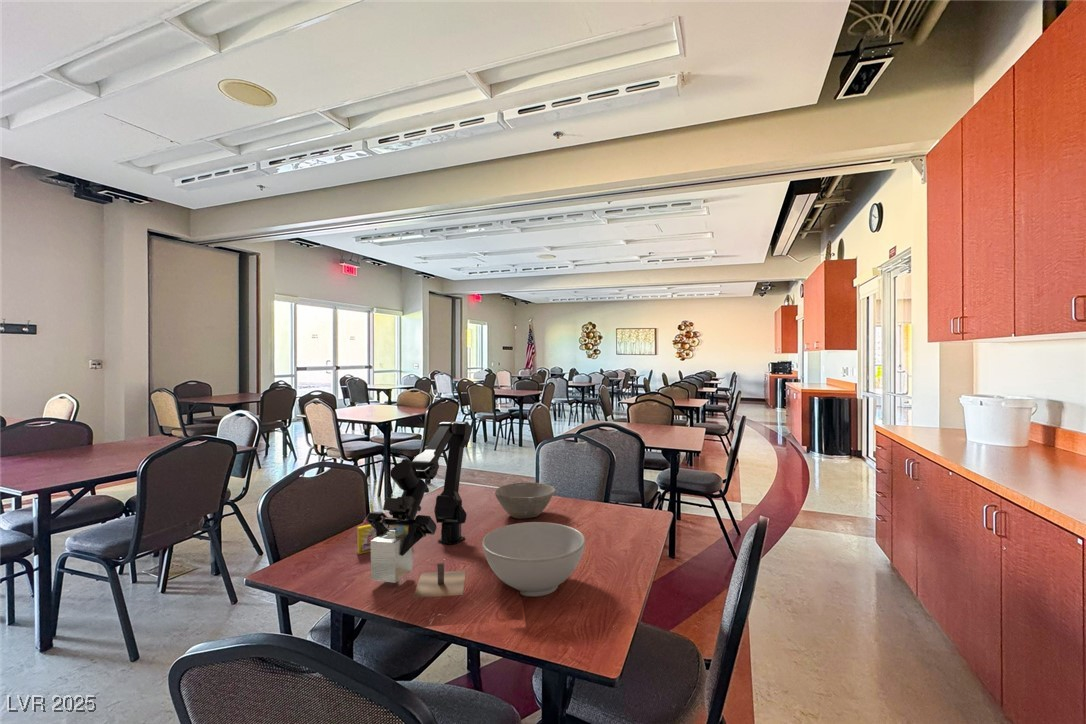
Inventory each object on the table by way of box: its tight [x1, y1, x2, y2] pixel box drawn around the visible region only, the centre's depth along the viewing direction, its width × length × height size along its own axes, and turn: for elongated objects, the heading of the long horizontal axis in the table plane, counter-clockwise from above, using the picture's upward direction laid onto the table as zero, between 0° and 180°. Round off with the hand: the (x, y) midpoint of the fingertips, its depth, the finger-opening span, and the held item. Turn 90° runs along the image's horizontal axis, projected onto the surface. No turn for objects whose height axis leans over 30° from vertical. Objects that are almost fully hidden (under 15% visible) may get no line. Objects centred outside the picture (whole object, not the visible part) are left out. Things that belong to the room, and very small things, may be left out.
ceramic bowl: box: [494, 482, 556, 520], centre depth 181 cm, size 22×23×10 cm
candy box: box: [356, 524, 408, 555], centre depth 151 cm, size 16×2×8 cm, turn 128°
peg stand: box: [412, 562, 467, 599], centre depth 123 cm, size 14×12×6 cm
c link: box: [370, 530, 413, 584], centre depth 124 cm, size 8×7×10 cm
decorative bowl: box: [481, 521, 586, 597], centre depth 123 cm, size 27×27×12 cm
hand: (388, 553), depth 123 cm, fingers closed on c link, 7 cm apart
